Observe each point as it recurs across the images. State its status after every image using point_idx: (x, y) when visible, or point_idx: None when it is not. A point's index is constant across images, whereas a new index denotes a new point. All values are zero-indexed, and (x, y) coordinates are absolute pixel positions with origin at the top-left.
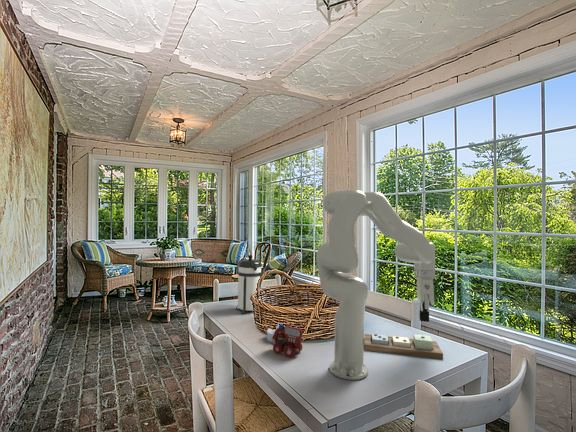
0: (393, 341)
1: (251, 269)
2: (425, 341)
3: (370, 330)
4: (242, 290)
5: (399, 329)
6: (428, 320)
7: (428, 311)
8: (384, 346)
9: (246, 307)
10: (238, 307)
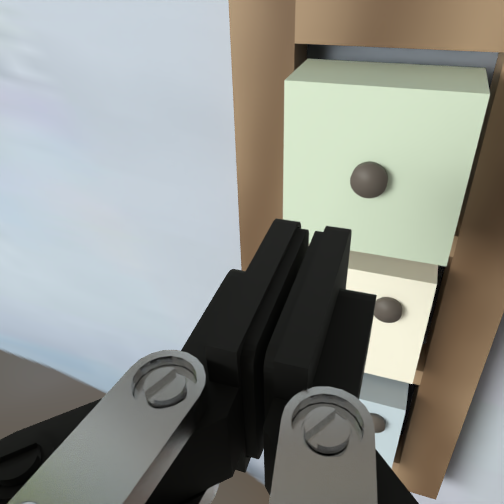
0: (392, 373)
1: None
2: (467, 172)
3: (118, 357)
4: None
5: (5, 192)
6: (349, 245)
7: (366, 416)
8: (453, 420)
9: None
10: None
